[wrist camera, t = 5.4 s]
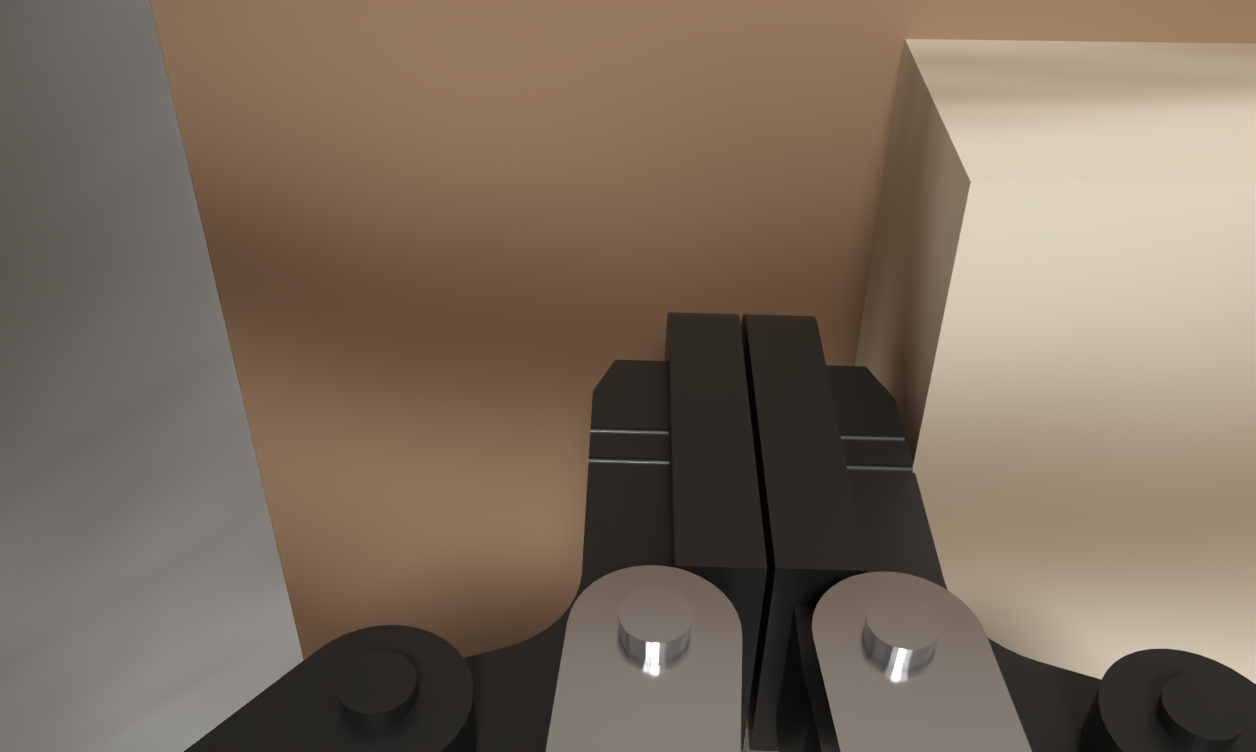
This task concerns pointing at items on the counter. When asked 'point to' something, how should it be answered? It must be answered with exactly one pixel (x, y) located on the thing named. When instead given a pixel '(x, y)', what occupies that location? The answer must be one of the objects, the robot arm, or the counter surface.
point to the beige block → (1078, 338)
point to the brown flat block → (527, 246)
